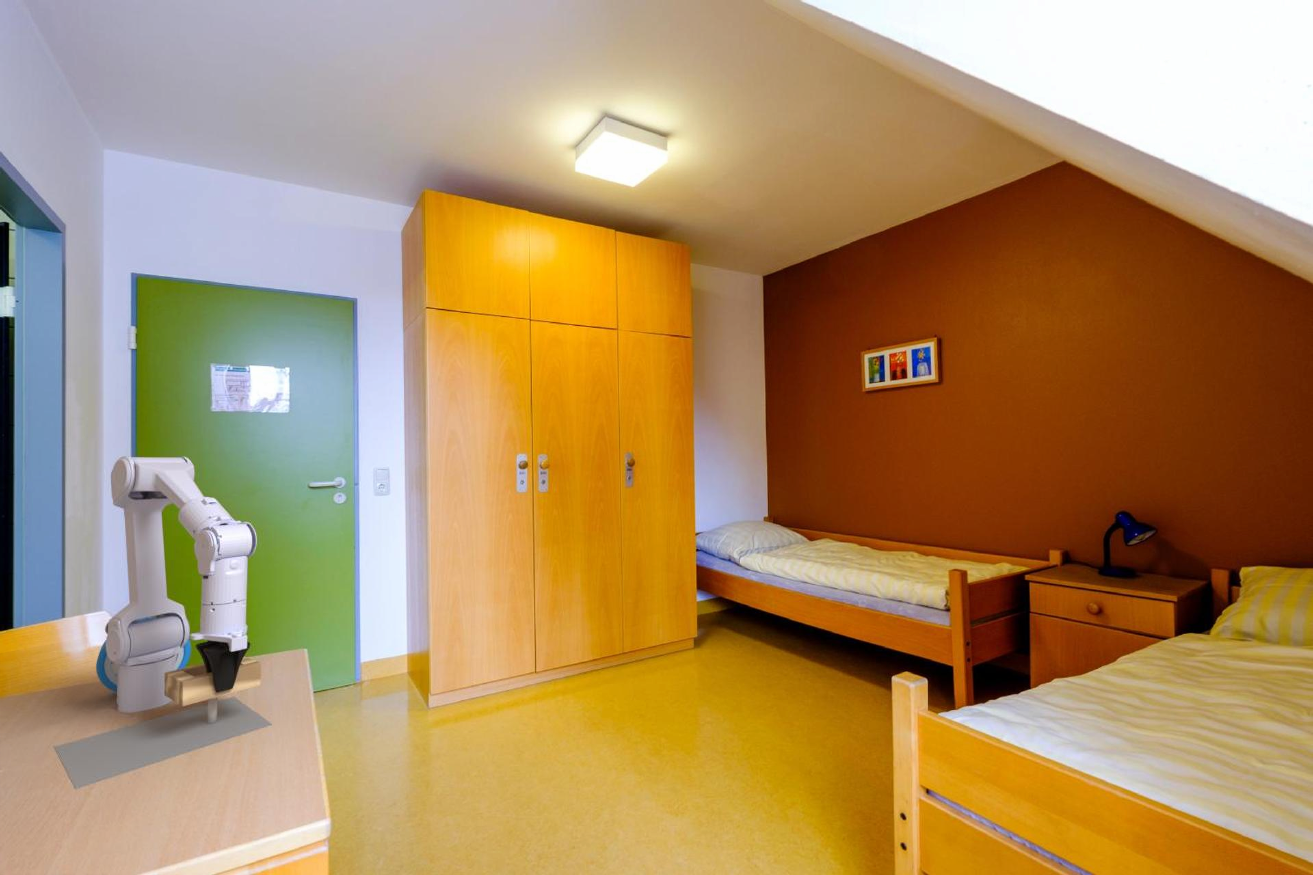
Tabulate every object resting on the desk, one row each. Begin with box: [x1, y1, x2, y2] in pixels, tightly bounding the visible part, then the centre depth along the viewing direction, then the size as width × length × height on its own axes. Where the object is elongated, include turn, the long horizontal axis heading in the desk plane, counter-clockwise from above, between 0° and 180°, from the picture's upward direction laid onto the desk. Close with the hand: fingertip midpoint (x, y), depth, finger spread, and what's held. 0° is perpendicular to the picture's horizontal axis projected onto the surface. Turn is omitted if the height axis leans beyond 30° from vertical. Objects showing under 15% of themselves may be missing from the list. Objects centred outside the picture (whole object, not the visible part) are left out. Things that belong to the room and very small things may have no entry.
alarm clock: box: [95, 615, 192, 693], centre depth 107 cm, size 13×6×15 cm, turn 132°
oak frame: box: [164, 656, 262, 707], centre depth 91 cm, size 10×10×4 cm
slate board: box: [53, 696, 274, 790], centre depth 86 cm, size 18×22×6 cm
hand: (221, 688), depth 88 cm, fingers closed on oak frame, 2 cm apart
